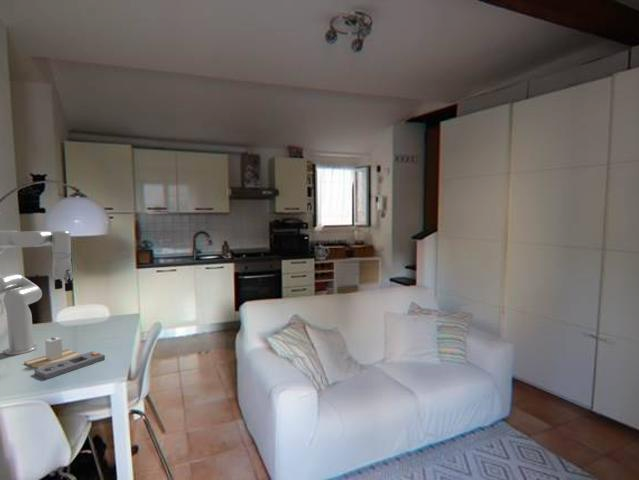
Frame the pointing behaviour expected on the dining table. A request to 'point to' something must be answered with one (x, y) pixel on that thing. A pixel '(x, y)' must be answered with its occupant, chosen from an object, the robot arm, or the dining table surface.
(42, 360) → the wooden board
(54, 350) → the block
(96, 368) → the dining table surface
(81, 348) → the dining table surface
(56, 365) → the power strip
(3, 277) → the robot arm
